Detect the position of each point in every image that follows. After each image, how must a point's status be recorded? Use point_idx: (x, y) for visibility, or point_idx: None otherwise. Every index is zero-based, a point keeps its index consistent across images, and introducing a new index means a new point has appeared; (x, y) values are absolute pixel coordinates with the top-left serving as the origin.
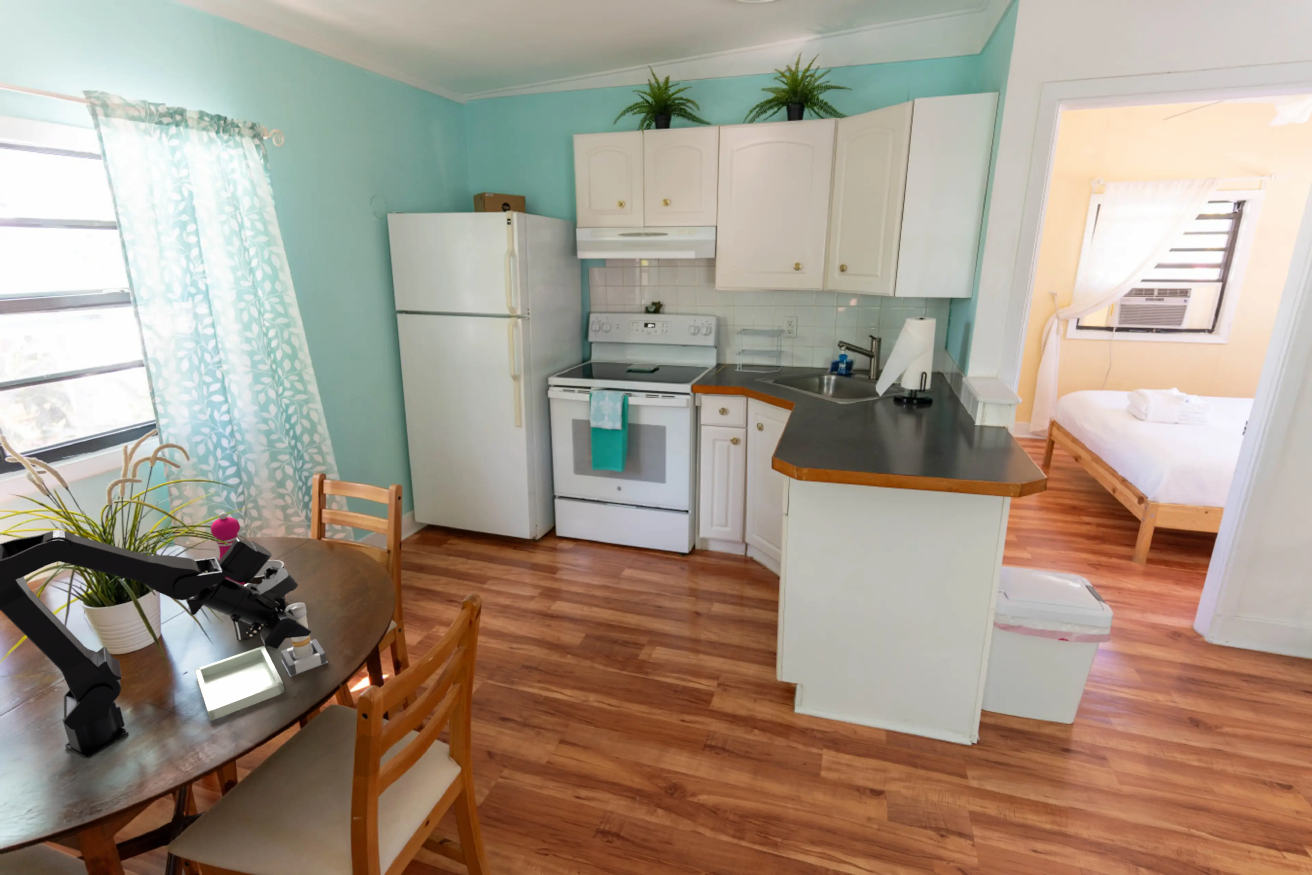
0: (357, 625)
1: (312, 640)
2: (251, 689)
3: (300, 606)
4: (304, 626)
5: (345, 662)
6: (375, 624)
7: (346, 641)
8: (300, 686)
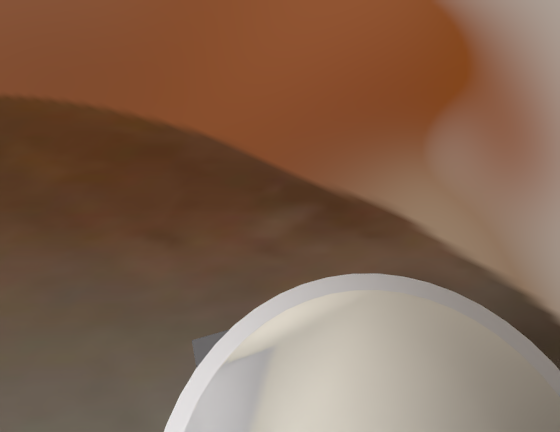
0: (85, 187)
1: (201, 359)
2: None
3: (389, 376)
4: None
5: (357, 233)
6: (122, 128)
7: (191, 228)
8: None
